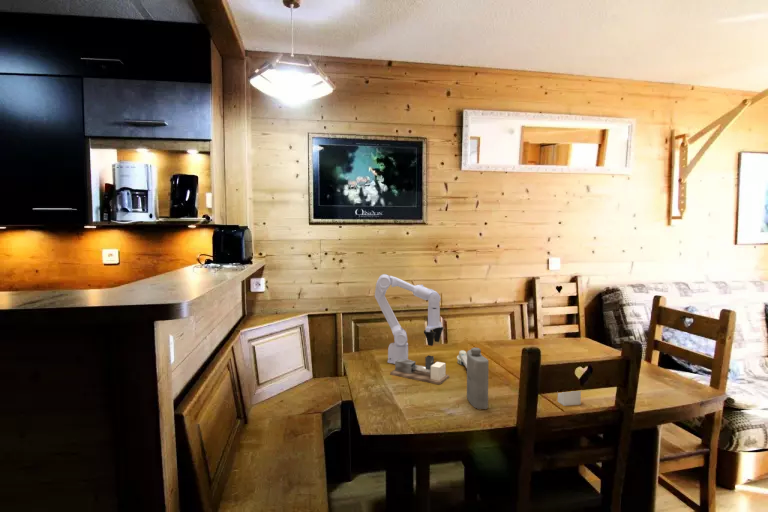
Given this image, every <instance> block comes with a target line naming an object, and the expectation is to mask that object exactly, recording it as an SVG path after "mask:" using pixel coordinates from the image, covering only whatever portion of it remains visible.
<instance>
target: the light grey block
mask: <svg viewBox="0 0 768 512" xmlns="http://www.w3.org/2000/svg"><path fill="white" fill-rule="evenodd" d="M581 392H582V390H581V391H571V392H562V393H558V392H557V402H558V403H559V404H560V405H562V406H564V407H565V406H566V407H567V406H578V405H579V406H580V405H582V403H581V399H582V393H581Z"/></svg>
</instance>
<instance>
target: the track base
mask: <svg viewBox="0 0 768 512" xmlns="http://www.w3.org/2000/svg"><path fill="white" fill-rule="evenodd" d="M410 360H411V359H408V360H405V359H398V360H397V361H395V364H394V369H393V370H392V371H390V372H389V373H390V376H391V375H392V376H396V377H402V378H405V379H410V380H416V381H420V382H424V383H431V384H434V385H439V386H440V385H442V383H444V382H445V381H447V380H448V379H449V378H450V375H449V374H446V376H445V377H443V378H442V379H441V380H440V381H438V380H433V379H431V374H426V373H421V372H416V371H412V364H414V365H416V361H415V360H411V361H410Z"/></svg>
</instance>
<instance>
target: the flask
mask: <svg viewBox="0 0 768 512" xmlns="http://www.w3.org/2000/svg"><path fill="white" fill-rule="evenodd" d="M481 352H482V349H481V348H479V347H471V349H469V350H467V351H466V353H467V368H466V398H467V401H468V403H469V404H470V406H472V407H474V408H475V409H476V408H477V409H476V410H479V409H485V410H487V409H488V408H489V360H488V358H486V357H485V356H484V355H483V354H482V353H481Z"/></svg>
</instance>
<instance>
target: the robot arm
mask: <svg viewBox="0 0 768 512" xmlns="http://www.w3.org/2000/svg"><path fill="white" fill-rule="evenodd" d="M390 286H391V288H395V287H399V288H402V289H404V290H406V291H410V292H412V294H413V296H414V297H417V298H419V299H421V300H424V301H427V303H428V305H427V324H426V325H427V326H426V327H425V330H423V334H424V335H425V338H426V342H427V345H428V346H431V347H433V345H434V342H437V343H439V342H440V339H441V335H442V333H443V331H444V327H443V326H442V321H441V320H440V318H441V315H440V314H441V313H440V312H441V309H440V308H441V307H440V303H441V299H442V298H441V295H440V294H439V293H438V291H436V290H434V289H433V288H429V287H426V286H424V284H416V285H414V284H412V283H409V282H408V281H406V280H403V279H401V278H398V277H396V276H393V275H388V274H386V273H383V274H380V276H379V277H378V279H377V281H376V284H375V290H374V298H375V300H376V302H377V304H378V306H379V308H380V310H381V312H382V314H383V316H384V318H385V320H386V321H387V324H388V325H389V328H390V330H391V332H392V335H393V339H394V342H390V344H389V345H388V349H387V363H389V364H394V365H395V361H397V360H398V359H405V360H410V361H412V360H411V359H409V343H408V334H407V333H408V332H407V330H405V329H404V328H403V327H402V326H401V324H400V322H399V321H398V319H397V317H396V315H395V313H394V311H393V309H392V307H391V304H390V303H389V301H388V299H387V297H386V293H387V290H388V289H390Z"/></svg>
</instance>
